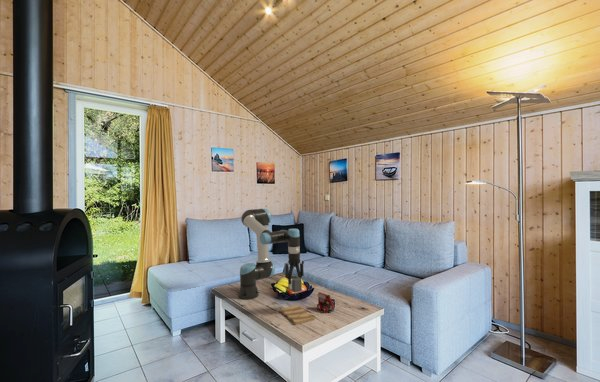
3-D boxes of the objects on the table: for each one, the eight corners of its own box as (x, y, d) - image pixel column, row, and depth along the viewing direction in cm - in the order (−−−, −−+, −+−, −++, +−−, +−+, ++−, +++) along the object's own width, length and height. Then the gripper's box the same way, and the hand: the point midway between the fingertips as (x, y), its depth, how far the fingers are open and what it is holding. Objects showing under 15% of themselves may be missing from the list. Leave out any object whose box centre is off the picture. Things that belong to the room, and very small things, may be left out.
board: (280, 311, 189) (280, 309, 189) (298, 307, 195) (298, 304, 195) (295, 324, 170) (295, 322, 170) (314, 319, 176) (314, 317, 176)
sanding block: (288, 289, 193) (288, 277, 193) (295, 287, 196) (294, 275, 196) (294, 293, 185) (294, 280, 185) (301, 291, 188) (301, 279, 188)
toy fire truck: (329, 314, 183) (328, 298, 183) (315, 308, 192) (314, 293, 192) (336, 311, 188) (335, 295, 188) (322, 305, 197) (321, 290, 197)
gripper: (284, 255, 183) (285, 292, 183) (308, 251, 192) (309, 287, 192) (279, 253, 189) (279, 288, 189) (303, 249, 198) (303, 283, 198)
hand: (294, 287), depth 191 cm, fingers closed on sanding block, 5 cm apart
